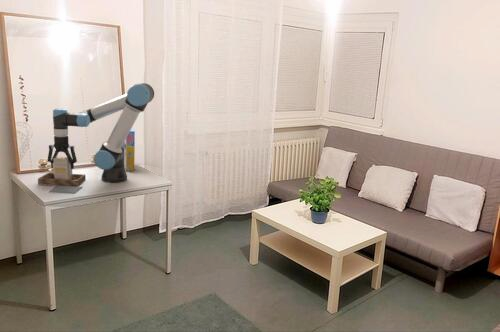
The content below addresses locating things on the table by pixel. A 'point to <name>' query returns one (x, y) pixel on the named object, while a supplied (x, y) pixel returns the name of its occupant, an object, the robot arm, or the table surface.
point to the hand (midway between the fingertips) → (62, 173)
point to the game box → (129, 151)
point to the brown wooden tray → (61, 180)
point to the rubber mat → (65, 189)
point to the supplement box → (61, 168)
